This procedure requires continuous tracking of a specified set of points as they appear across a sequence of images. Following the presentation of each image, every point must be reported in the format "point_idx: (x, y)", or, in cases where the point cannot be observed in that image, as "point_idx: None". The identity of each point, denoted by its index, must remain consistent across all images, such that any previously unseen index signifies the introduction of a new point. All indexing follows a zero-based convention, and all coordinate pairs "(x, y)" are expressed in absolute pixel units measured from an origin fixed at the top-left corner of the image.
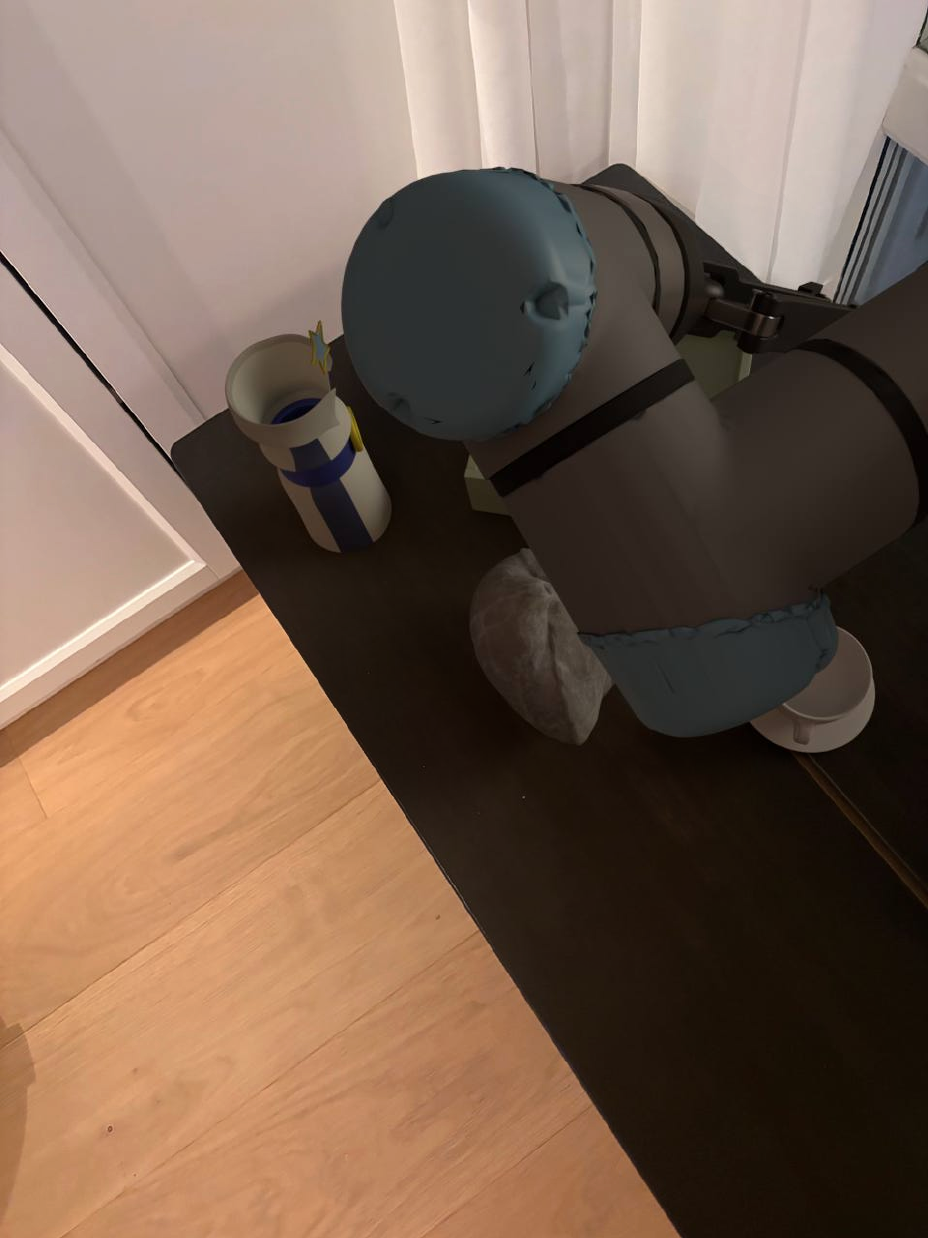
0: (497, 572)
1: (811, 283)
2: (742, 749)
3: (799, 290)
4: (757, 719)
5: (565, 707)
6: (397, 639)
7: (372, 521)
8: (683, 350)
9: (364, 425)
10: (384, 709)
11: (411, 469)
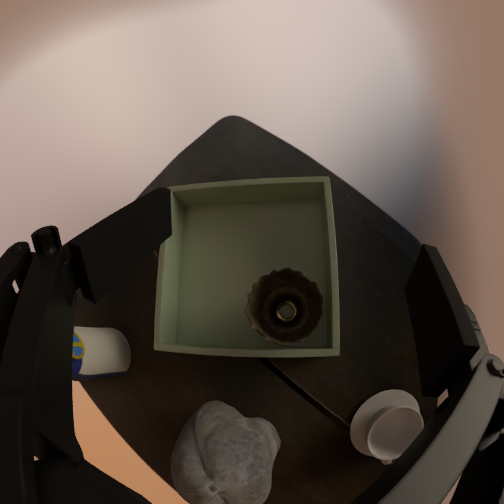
0: (178, 459)
1: (436, 264)
2: (354, 461)
3: (463, 350)
4: (362, 448)
5: None
6: (153, 427)
7: (117, 368)
8: (286, 214)
9: (108, 295)
10: (158, 460)
11: (135, 322)
